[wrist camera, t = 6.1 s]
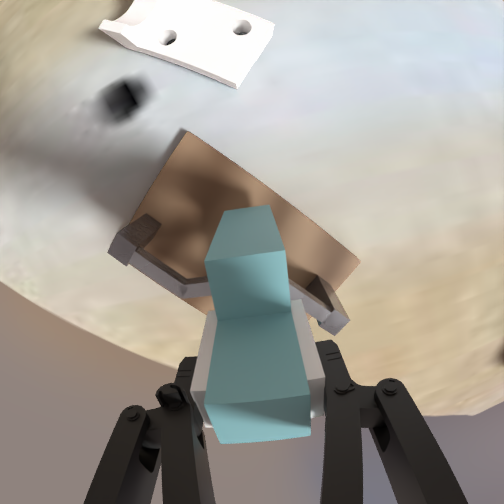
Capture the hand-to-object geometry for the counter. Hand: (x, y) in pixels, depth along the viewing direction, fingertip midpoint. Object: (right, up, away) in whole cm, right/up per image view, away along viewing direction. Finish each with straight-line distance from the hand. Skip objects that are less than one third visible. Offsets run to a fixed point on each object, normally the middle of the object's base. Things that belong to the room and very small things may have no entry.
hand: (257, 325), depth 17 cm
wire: (-2, +4, +13) cm, 14 cm away
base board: (-2, +4, +13) cm, 14 cm away
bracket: (-6, +26, +6) cm, 27 cm away
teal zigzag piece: (0, +4, +10) cm, 11 cm away
